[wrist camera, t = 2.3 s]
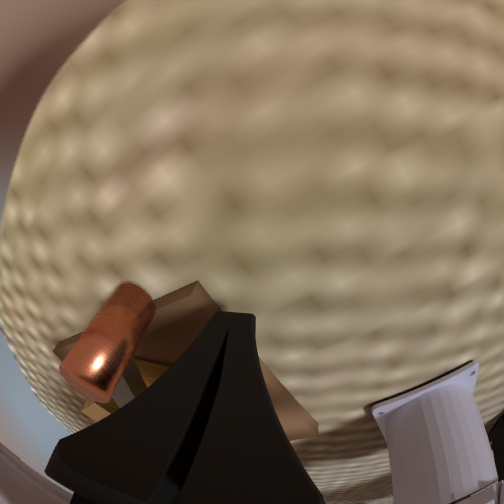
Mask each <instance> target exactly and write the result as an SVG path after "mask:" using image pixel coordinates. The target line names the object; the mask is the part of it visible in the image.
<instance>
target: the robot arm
mask: <svg viewBox="0 0 504 504" xmlns="http://www.w3.org/2000/svg"><path fill="white" fill-rule="evenodd" d="M255 331H256V317H255V316H254V315H253V314H248V313H235V312H224V311H217V312H215V313H214V315H213V316H212V317H211V319H210V320H209V322H208V323H207V324H206V326H205V327H204V328H203V330H202V331H201V332H200V333H199V335H198V336H197V337H196V338H195V340H194V341H193V342H192V343H191V344H190V346H189V347H188V348H187V349H186V350H185V351H184V353H183V354H182V355H181V356H180V357H179V358H178V359H177V360H176V361H175V362H174V363H173V364H172V365H171V366H170V367H169V368H168V369H167V370H166V371H165V372H164V373H163V374H162V375H161V376H160V377H159V378H158V379H157V380H156V381H155V382H153V383H152V384H151V385H150V386H149V387H148V388H146V389H145V390H144V391H143V392H141V393H140V394H139V395H138V396H136V397H135V398H134V399H132V400H131V401H130V402H128V403H127V404H125V405H124V406H123V407H121V408H120V409H118V410H117V411H115V412H113V413H112V414H110V415H108V416H107V417H105V418H103V419H102V420H100V421H98V422H96V423H95V424H93V425H91V426H89V427H87V428H85V429H82V430H80V431H78V432H76V433H74V434H71V435H69V436H67V437H65V438H62V439H60V440H59V442H58V443H57V445H56V447H55V449H54V451H53V453H52V455H51V458H50V460H49V462H48V465H47V467H46V469H45V473H46V475H47V476H49V477H50V478H52V479H53V480H55V481H57V482H58V483H60V484H61V485H63V486H65V487H66V488H68V489H70V490H72V491H73V492H74V493H73V495H72V494H70V493H69V492H67V491H65V490H64V489H62V488H60V487H59V486H57V485H56V484H54V483H52V482H51V481H49V480H48V479H46V478H45V477H43V476H41V475H40V474H39V473H37V472H36V471H34V470H33V469H32V468H30V467H29V466H28V465H26V464H25V463H24V462H22V461H21V460H20V458H19V457H18V456H16V455H15V454H14V453H13V452H11V451H10V450H9V449H8V448H6V447H5V446H4V445H3V444H1V443H0V504H325V501H324V498H323V496H322V494H321V493H320V491H319V490H318V488H317V487H316V485H315V484H314V483H313V481H312V480H311V478H310V476H309V475H308V473H307V472H306V470H305V469H304V467H303V465H302V464H301V462H300V460H299V458H298V457H297V455H296V453H295V451H294V449H293V447H292V446H291V444H290V442H289V440H288V438H287V436H286V434H285V432H284V430H283V428H282V425H281V423H280V421H279V419H278V416H277V414H276V412H275V409H274V406H273V404H272V401H271V399H270V396H269V393H268V390H267V387H266V384H265V380H264V377H263V373H262V370H261V366H260V361H259V357H258V352H257V346H256V339H255ZM478 370H479V364H478V361H473V362H471V363H469V364H467V365H465V366H463V367H462V368H460V369H458V370H456V371H454V372H452V373H450V374H448V375H446V376H444V377H442V378H440V379H437V380H435V381H433V382H431V383H429V384H426V385H424V386H422V387H420V388H417V389H415V390H412V391H410V392H407V393H405V394H402V395H400V396H397V397H395V398H392V399H389V400H386V401H383V402H381V403H378V404H375V405H374V406H372V408H371V411H372V414H373V416H374V418H375V420H376V422H377V424H378V426H379V429H380V431H381V433H382V435H383V437H384V439H385V441H386V443H387V445H388V452H389V460H390V468H391V477H392V487H393V500H394V504H504V481H503V480H502V481H500V482H498V483H496V484H494V485H492V486H490V487H489V488H487V489H485V490H483V491H481V492H479V493H477V494H475V493H476V492H478V491H480V490H482V489H484V488H486V487H488V486H489V485H491V484H493V483H494V482H496V481H497V480H498V475H497V471H496V466H495V462H494V458H493V454H492V450H491V447H490V443H489V440H488V436H487V433H486V430H485V427H484V424H483V421H482V418H481V415H480V412H479V409H478V406H477V404H476V401H475V398H474V396H473V393H474V389H475V384H476V380H477V375H478ZM473 494H475V495H473ZM471 495H473V496H471Z"/></svg>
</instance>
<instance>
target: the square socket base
mask: <svg viewBox="0 0 504 504" xmlns="http://www.w3.org/2000/svg"><path fill="white" fill-rule="evenodd" d="M153 302H154V304H155V307H156V313H155V316H154V318H153V319H152V321H151V323H150V325H149V327H148V328H147V330H146V332H145V334H144V336H143V337H142V339H141V341H140V343H139V345H138V347H137V348H136V350H135V352H134V354H133V358H134V359H137V360H141V361H146V362H151V363H156V364H161V365H166V366H171V365H172V364H173V363H174V362H175V361H176V360H177V359H178V358H179V357H180V356H181V355H182V354H183V353H184V351H185V350H186V349H187V348H188V347H189V346H190V344H191V343H192V342H193V341H194V340H195V338H196V337H197V336H198V335H199V333H200V332H201V331H202V330H203V328H204V327H205V326H206V324H207V323H208V322H209V320H210V319H211V317H212V316H213V315H214V313H215V312H217V311H221V310H220V309H219V308H218V306H217V305H216V304H215V302H214V301H213V300H212V299H211V297H210V296H209V295H208V293H207V292H206V291H205V289H204V288H203V287H202V285H201V284H200V283H199V281H196V282H194V283H192V284H189V285H187V286H185V287H183V288H180V289H178V290H176V291H174V292H172V293H169V294H167V295H165V296H163V297H160V298H158V299H156V300H154V301H153ZM82 333H83V332H82ZM82 333H79V334H77V335H75V336H73V337H70V338H68V339H66V340H64V341H61V342H59V343H58V345H57V346H56V347H55V349H54V350H53V352H54V353H55V354H56V355H57V356H58V357H59V358H60V359H61V360H62V361H63V360H64V359H65V357H66V356H67V354H68V353H69V352H70V350H71V349H72V347H73V346H74V344H75V343H76V342H77V340H78V339H79V337H80V336H81V335H82ZM259 361H260V366H261V370H262V373H263V377H264V380H265V384H266V387H267V390H268V393H269V396H270V399H271V401H272V404H273V406H274V409H275V412H276V414H277V416H278V419H279V421H280V423H281V425H282V428H283V430H284V432H285V434H286V436H287V438H288V440H289V441H291V440H297V439H303V438H308V437H313V436H318V423H317V422H316V421H315V420H314V419H313V418H312V417H311V416H310V415H309V414H308V413H307V411H306V410H305V409H304V408H303V407H302V406H301V405H300V404H299V403H298V402H297V401H296V399H295V398H294V397H293V396H292V395H291V394H290V393H289V392H288V390H287V389H286V388H285V387H284V386H283V385H282V384H281V383H280V381H279V380H278V379H277V378H276V377H275V376H274V375H273V373H272V372H271V371H270V370H269V369H268V368H267V366H266V365H265V364H264V363H263V362H262V361H261V359H260V358H259Z"/></svg>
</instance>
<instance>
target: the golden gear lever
mask: <svg viewBox="0 0 504 504" xmlns="http://www.w3.org/2000/svg"><path fill="white" fill-rule="evenodd" d="M155 313H156V307H155V304H154V302H153V300H152V298H151V297H150V296H149V295H148V294H147V293H146V292H145V291H144V290H142V289H141V288H139V287H137V286H135V285H131V284H123V285H120V286H119V287H118V288H117V289H116V290H115V291H114V292H113V294H112V295H111V296H110V298H109V299H108V300H107V301H106V303H105V304H104V305H103V307H102V308H101V309H100V310H99V312H98V313H97V314H96V316H95V317H94V318H93V320H92V321H91V322H90V324H89V325H88V326H87V328H86V329H85V331H84V332H83V333H82V335H81V336H80V337H79V339H78V340H77V342H76V343H75V344H74V346H73V347H72V349H71V350H70V352H69V353H68V354H67V356H66V357H65V359H64V360H63V362H62V363H61V365H60V367H59V369H60V372H61V374H62V376H63V377H64V379H65V380H66V381H67V382H68V383H69V384H70V385H71V386H72V387H73V388H74V389H76V390H77V391H78V392H80V393H81V394H83V395H84V396H86V397H88V398H87V400H86V402H85V404H84V406H83V408H82V410H81V412H82V413H84V414H85V415H87V416H88V417H90V418H91V419H93V420H94V421H96V422H98V421H100V420H102V419H103V418H105V417H107V416H108V415H110V414H112V413H113V412H115V411H117V410H118V409H120V408H121V407H123V406H124V405H125V404H127V403H128V402H130V401H131V400H132V399H134V398H135V397H136V396H138V395H139V394H140V393H141V392H143V391H144V390H145V389H146V388H148V387H149V386H150V385H151V384H152V383H153V382H155V381H156V380H157V379H158V378H159V377H160V376H161V375H162V374H163V373H164V372H165V371H166V370H167V369H168V368H169V367H170V366H166V365H161V364H156V363H151V362H146V361H141V360H137V359H134V358H133V354H134V352H135V350H136V348H137V347H138V345H139V343H140V341H141V339H142V337H143V336H144V334H145V332H146V330H147V328H148V327H149V325H150V323H151V321H152V319H153V318H154V316H155Z"/></svg>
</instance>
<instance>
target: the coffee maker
mask: <svg viewBox="0 0 504 504" xmlns="http://www.w3.org/2000/svg"><path fill="white" fill-rule="evenodd" d="M488 438H489V443H490V447H491V450H493V453H494V462H495V466H496V471H497V475H498V482H500V481H502V480H503V481H504V416H503V417H502V418H501V419H500V420H499V421H498V423H497V424H496V426H495V427H494V428H493V429H492V431H491V432H490V433H489V435H488Z"/></svg>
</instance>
